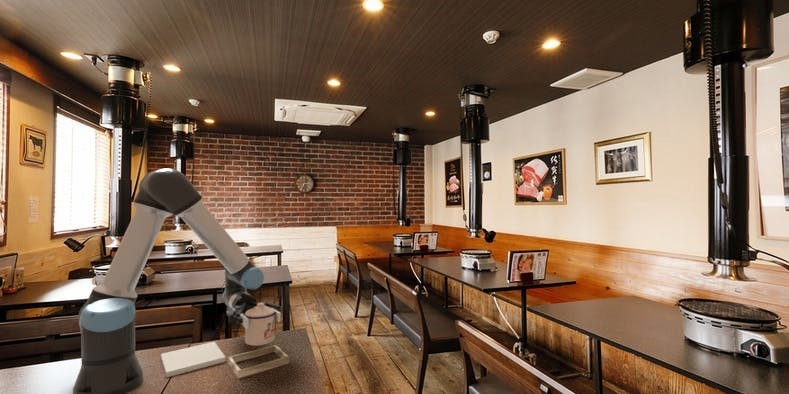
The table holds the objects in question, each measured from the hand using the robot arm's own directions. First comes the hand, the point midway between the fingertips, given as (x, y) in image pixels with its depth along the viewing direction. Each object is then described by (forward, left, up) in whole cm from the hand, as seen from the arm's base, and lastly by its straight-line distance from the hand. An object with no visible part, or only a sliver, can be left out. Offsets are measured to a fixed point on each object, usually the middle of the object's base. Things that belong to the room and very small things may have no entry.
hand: (263, 320), depth 109 cm
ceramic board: (-21, -16, -15) cm, 30 cm away
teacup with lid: (-5, +1, -7) cm, 9 cm away
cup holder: (-5, 0, -15) cm, 15 cm away
